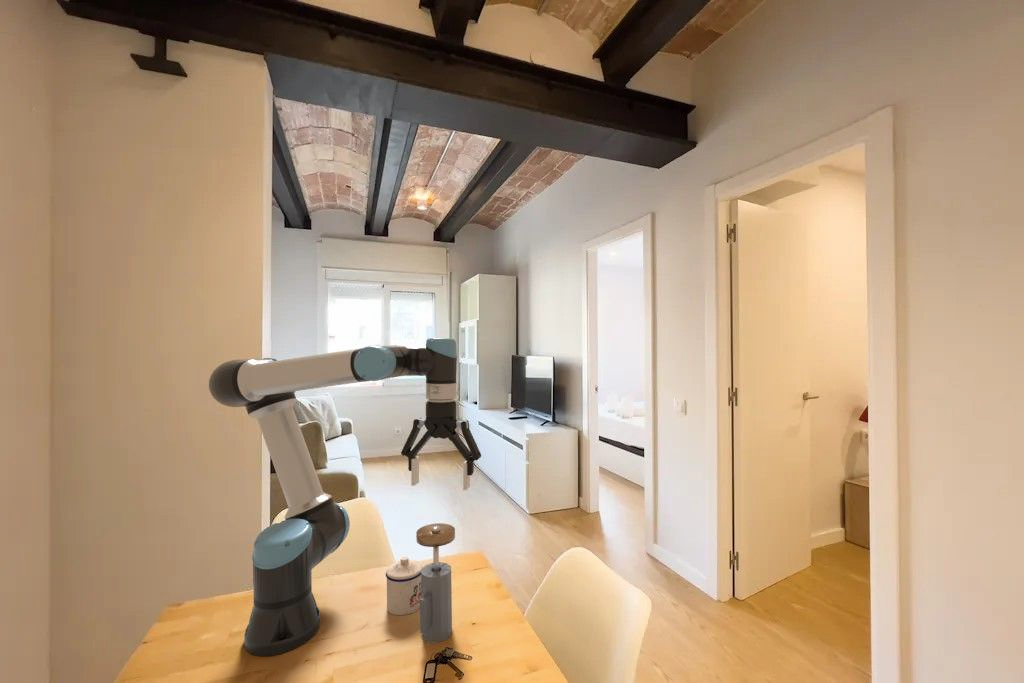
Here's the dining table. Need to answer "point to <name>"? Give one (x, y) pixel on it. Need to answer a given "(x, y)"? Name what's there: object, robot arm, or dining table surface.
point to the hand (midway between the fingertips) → (440, 486)
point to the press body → (436, 603)
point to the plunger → (435, 538)
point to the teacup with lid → (404, 586)
